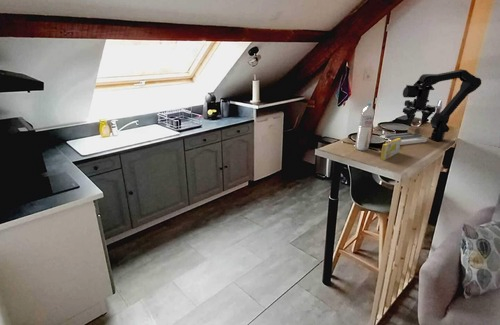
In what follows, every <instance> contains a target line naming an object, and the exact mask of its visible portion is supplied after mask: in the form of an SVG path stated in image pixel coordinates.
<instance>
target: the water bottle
mask: <svg viewBox="0 0 500 325" xmlns="http://www.w3.org/2000/svg"><path fill="white" fill-rule="evenodd" d="M375 115H376V111H375V109H374V108H373V107H372V103H367V106H365V107H364V108H362V109H361V111H360V116H359V117H360V118H359V123H358V128H357V132H356V133H357V134H356V138H355V139H356V141H355V144H354V145H355V146H354V148H355V150H357V151H361V152H366V151H368V150H369V146H370V143H369V141H370V136H371V131H372V125H373V126H374V118H375Z"/></svg>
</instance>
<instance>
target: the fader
mask: <svg viewBox="0 0 500 325" xmlns="http://www.w3.org/2000/svg"><path fill="white" fill-rule="evenodd" d="M421 129H422V128H421V127H418V126H415V125H409V126H408V128H407V132H406V133H411V135H412V134H421Z"/></svg>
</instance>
